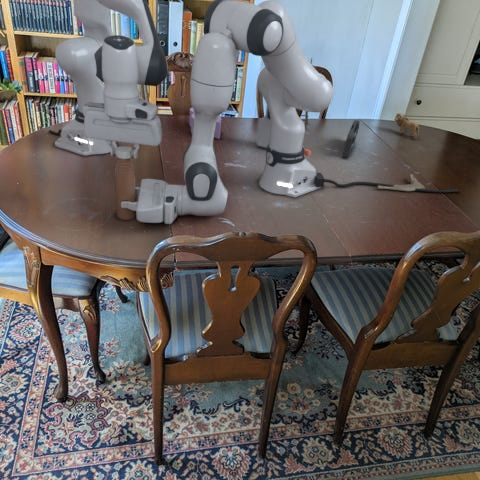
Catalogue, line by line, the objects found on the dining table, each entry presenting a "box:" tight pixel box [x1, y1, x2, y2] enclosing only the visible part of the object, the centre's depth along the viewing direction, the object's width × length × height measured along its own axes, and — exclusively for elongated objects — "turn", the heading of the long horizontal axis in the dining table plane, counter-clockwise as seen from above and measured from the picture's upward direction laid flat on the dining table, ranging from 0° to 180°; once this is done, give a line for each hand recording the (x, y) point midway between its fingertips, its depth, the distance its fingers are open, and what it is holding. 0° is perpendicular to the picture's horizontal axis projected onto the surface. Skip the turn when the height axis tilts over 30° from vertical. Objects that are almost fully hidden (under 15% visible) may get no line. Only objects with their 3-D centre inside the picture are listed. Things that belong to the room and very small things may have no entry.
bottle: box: [114, 158, 137, 221], centre depth 131 cm, size 6×6×20 cm
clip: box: [188, 106, 222, 140], centre depth 199 cm, size 20×12×7 cm, turn 23°
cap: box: [115, 145, 133, 159], centre depth 126 cm, size 4×4×2 cm
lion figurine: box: [394, 112, 422, 140], centre depth 218 cm, size 15×5×9 cm, turn 50°
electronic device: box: [255, 105, 271, 150], centre depth 183 cm, size 12×8×30 cm, turn 71°
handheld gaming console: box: [342, 119, 361, 159], centre depth 194 cm, size 23×3×10 cm, turn 161°
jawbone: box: [376, 173, 426, 193], centre depth 169 cm, size 9×20×2 cm, turn 126°
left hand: (124, 156), depth 126 cm, fingers closed on cap, 4 cm apart
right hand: (122, 198), depth 133 cm, fingers closed on bottle, 5 cm apart
